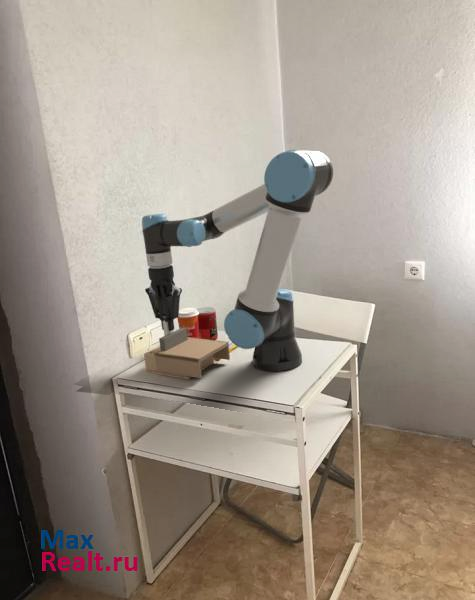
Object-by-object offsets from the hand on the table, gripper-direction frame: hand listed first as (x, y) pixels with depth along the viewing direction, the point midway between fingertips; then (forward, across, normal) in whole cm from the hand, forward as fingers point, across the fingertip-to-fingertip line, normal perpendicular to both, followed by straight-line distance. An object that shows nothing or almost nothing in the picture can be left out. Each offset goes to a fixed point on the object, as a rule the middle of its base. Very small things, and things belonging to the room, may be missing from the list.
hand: (169, 340), depth 160 cm
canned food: (+9, -5, +26) cm, 28 cm away
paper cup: (+9, -4, +15) cm, 17 cm away
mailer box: (+9, +3, 0) cm, 9 cm away
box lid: (+7, +8, 0) cm, 11 cm away
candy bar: (+9, +9, +17) cm, 21 cm away
